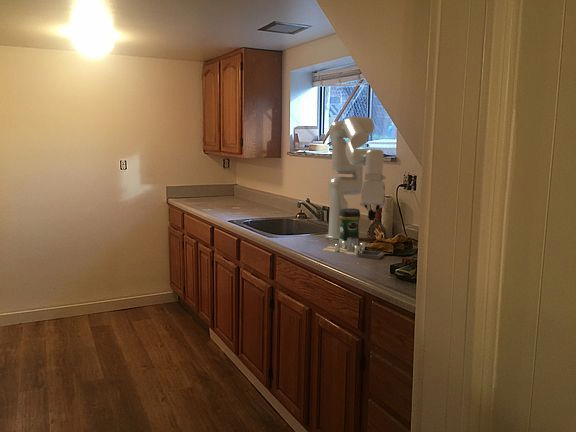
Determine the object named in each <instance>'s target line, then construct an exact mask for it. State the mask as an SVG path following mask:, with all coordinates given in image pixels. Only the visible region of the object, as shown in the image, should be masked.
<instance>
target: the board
mask: <svg viewBox="0 0 576 432" xmlns="http://www.w3.org/2000/svg"><path fill="white" fill-rule="evenodd" d="M320 251H322V252H330V253H338V254H348V255H355V256H356V255H357V256H358V254H354V252H348V251H347V249H342V247H340V252H335V246H326V247H324V248H323V249H321V250H320ZM360 252H361V251H360Z"/></svg>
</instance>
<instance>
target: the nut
mask: <svg viewBox="0 0 576 432" xmlns="http://www.w3.org/2000/svg"><path fill="white" fill-rule="evenodd" d="M355 246H358V238H355V237H348V238H347V251H348V252H355Z"/></svg>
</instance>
